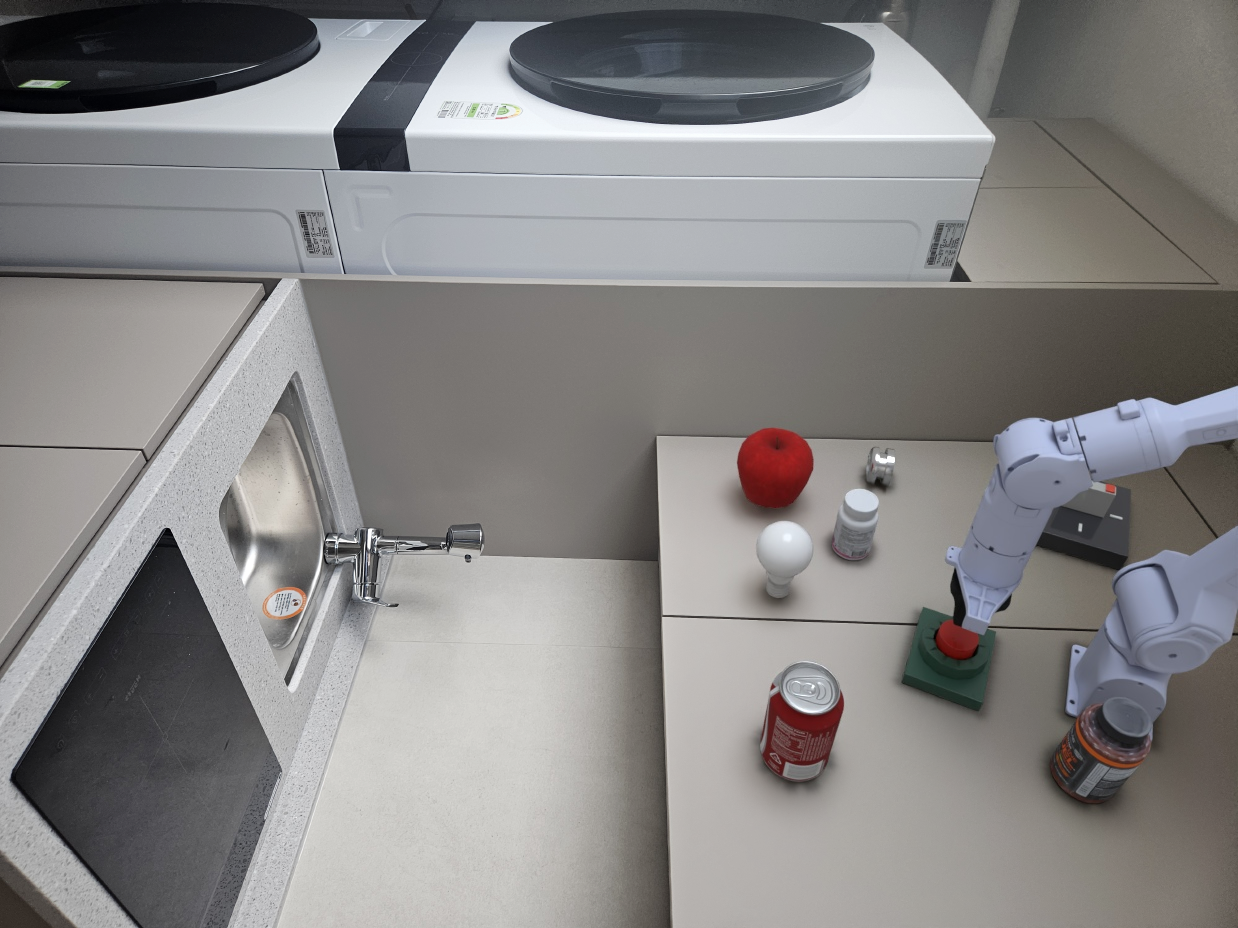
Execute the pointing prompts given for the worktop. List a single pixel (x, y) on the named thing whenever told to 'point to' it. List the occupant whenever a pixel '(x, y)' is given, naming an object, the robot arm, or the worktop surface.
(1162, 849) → the worktop surface
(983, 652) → the button block
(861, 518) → the pill bottle
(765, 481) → the apple
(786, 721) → the soda can
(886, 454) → the grooved metal pulley
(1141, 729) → the supplement bottle
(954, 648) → the button
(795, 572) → the lightbulb
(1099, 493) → the knob
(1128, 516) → the block
